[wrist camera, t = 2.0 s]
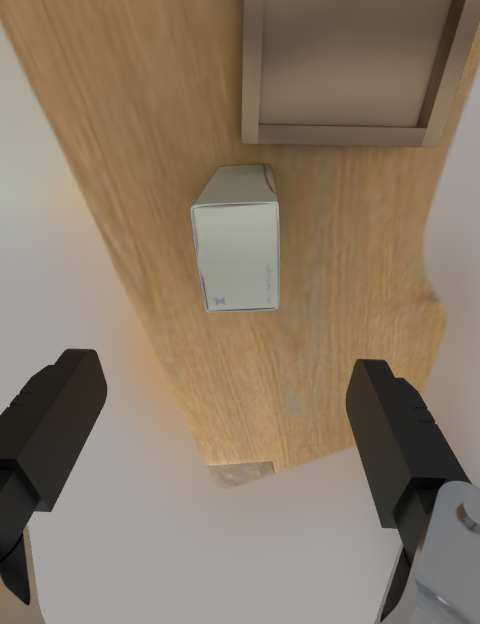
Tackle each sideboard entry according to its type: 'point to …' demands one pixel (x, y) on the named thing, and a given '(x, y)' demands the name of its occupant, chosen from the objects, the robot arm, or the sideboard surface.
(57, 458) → the robot arm
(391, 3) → the brown wooden tray
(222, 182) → the skincare box
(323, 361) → the sideboard surface
